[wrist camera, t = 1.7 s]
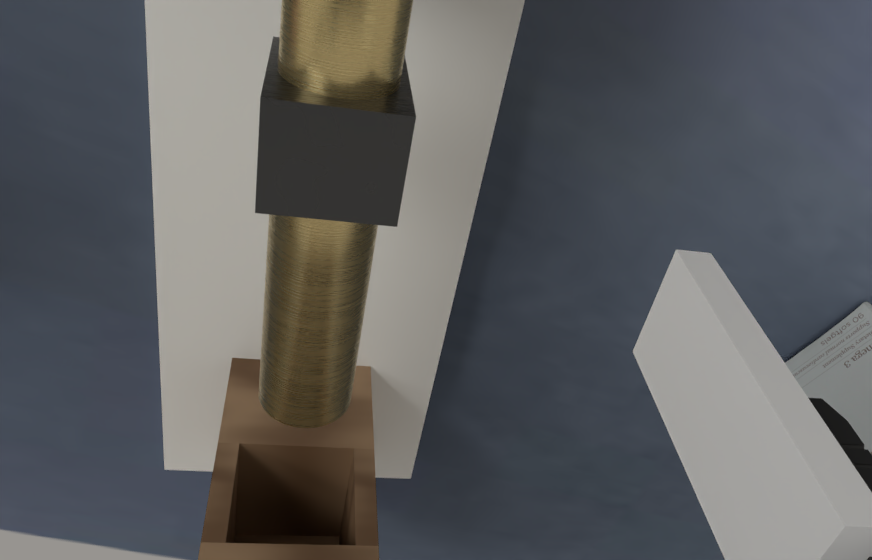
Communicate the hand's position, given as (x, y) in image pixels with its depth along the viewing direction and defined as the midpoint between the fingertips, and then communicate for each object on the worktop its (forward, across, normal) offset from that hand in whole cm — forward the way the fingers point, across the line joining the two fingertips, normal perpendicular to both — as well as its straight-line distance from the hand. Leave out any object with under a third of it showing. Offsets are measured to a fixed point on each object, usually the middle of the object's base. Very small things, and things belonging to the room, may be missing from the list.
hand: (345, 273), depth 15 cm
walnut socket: (+13, 0, -18) cm, 22 cm away
